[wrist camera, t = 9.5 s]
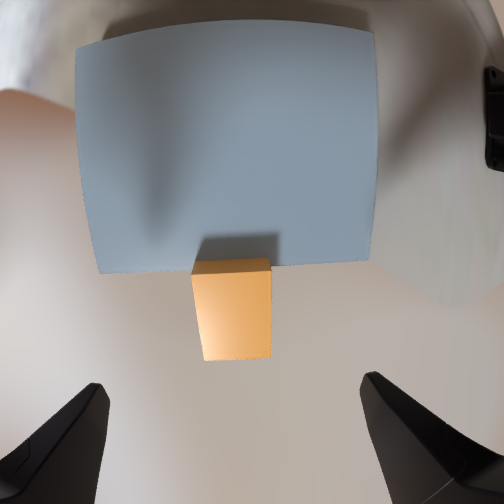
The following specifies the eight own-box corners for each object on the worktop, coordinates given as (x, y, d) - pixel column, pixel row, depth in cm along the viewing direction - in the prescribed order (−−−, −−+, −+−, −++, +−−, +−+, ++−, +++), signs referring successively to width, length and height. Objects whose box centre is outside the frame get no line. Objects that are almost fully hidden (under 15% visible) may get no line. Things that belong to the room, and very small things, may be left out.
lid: (356, 42, 10) (386, 24, 7) (345, 312, 16) (363, 346, 13) (93, 56, 10) (62, 43, 7) (130, 322, 15) (114, 358, 12)
